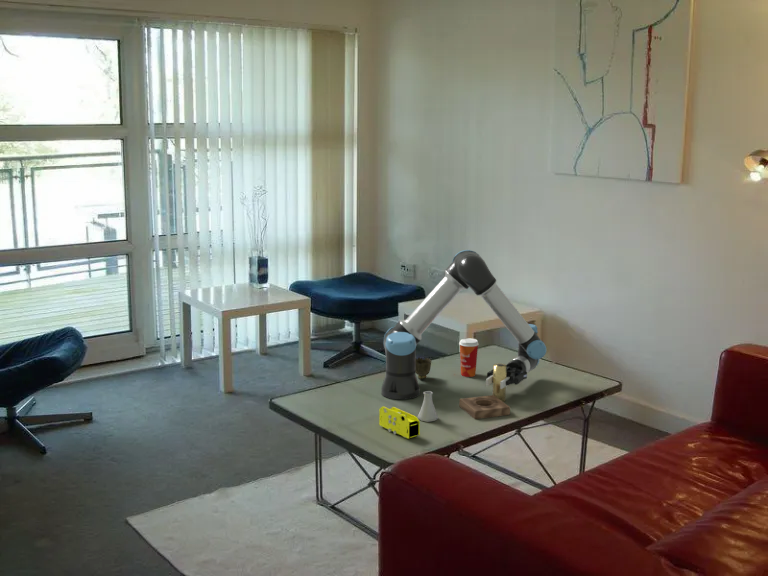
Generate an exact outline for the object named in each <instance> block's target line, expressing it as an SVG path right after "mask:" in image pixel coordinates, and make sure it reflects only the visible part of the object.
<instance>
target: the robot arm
mask: <svg viewBox="0 0 768 576" xmlns="http://www.w3.org/2000/svg"><path fill="white" fill-rule="evenodd" d="M444 273H445V275H444V277H443V278H442V279H441V280H440V281H439V282H438V283H437V284H436V286H435V287H434V288H433V289H432V290H431V291H430V292H429V293H428V294H427V296H426V297H425V298H424V299H423V300H422V301H421V302H420V303H419V304H418V305H417V307H416V308H415V309H413V311H412V312H411V313H410V314H409V315H408V316H407V318H406V319H399V321H398V322H397V323H396V324H395V326H392V327H390V328H388V330H387V331H386V332H385V333H384V335H383V336H384V337H383V349H384V351H385V376H384V379H383V383H382V384H381V385H382V386H381V392H380V394H381V395H382V396H383V397H384V398H387V399H392V400H409V399H413V398H414V399H415V398H417V397H418V396H419V395H421V394H420V393H421V391H420V390H421V389H420V388H421V387H420V385H419V380H418V379H417V378H418V377H417V374H416V372H415V369H416V358H417V356H416V354H417V353H416V351H417V350H416V349H417V348H416V347H417V345H418V344H419V343H420V342H421V340H422V334H423V333H424V332H425V330H427V328H428V327H429V326H430V325H431V324H432V323H433V322H434V321H435V319H437V317H439V315H440V314H441V313H442V312H443V311H444V310H445V308H447V306H448V305H449V304H450V303H451V302H452V301H453V300H454V299H455V298H456V296H457V295H458V294H459V293H460V292H461V291H464V290H465V291H467V290H468V289H469V288H470V289H471V290H472V291H473V293H474V294H475V295H476V296H477V297H481V298H482V299H483V301H484V302H485V303H486V304H487V306H488V307H489V309H491V310H492V312H493V313H494V314H495V315H496V317H498V319H499V320H500V321H501V323H502V324H503V325H504V327H505V328H506V329H507V330H508V331H509V333H510V334H511V335H512V336H513V337H514V339H515V340H516V341H517V348H518V349H517V357H515V358H513V359H512V360H511V361H509V362H508V363H506V365H507V370H506V378H505V379H504V380H502V381H501V382H500V389H503V388H504V387H506V388H507V386H510V385H513V384H514V385H515V386H516V385H518V384H520V383H521V382H522V381H524V380H526V379H527V378H528V373H530V372H531V371H533V370H535V369H536V367H538V365H539V363H540V360H541V359H542V358H544V357H545V355H546V353H547V346H546V344H545V342H544V341H543V340H542V339H541V338H540V337H539V336H538V326H537V325H535V324H532V323H528V322H527V321H526V319H525V318H524V316H523V315H521V313H520V312H519V310H518V309H517V308H516V307H515V305H514V304H513V303H512V302H511V300H510V299H509V298H508V297H507V296H506V294H505V293H504V292H503V290H501V288H500V287H499V285H498V284H497V279H496V277H495V276H494V275H493V273H492V272H491V270H490V269H489V266H488V264H486V262H485V260H484V259H483V258H482V257H481V256H480V254H479V253H477V252H476V251H474V250H471V249H463V250H460V251H459V252H457V253H455V255H454V257H453V259H452V260H451V263H450V264H449V266H448V267H446V269H445V270H444ZM491 384H492V385H493V369H491V370H490V371H488V372H487V373H486V379H485V387H488V386H490V385H491Z"/></svg>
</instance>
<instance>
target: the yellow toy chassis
mask: <svg viewBox="0 0 768 576" xmlns="http://www.w3.org/2000/svg"><path fill="white" fill-rule="evenodd" d="M378 410H379V411H378V412H379V413H378V414H379V415H378V417H379V420H378V422H379V424H378V425H379V426H380V427H383V428H384V429H385V430H388V432H389V433H391V432H392V433H393V435H396V434H397V435H400V436H402V437H403V439H412V438H416V437H417V436H420V434H421V433H420V431H421V427H420V426H421V424H420V423H421V422H420V421H421V420H419V419H418V418H417V417H418V416H415V415H414V414H411V413H409V412H407V411H404V410H402V409H400V408H398V407H395V406H392V407H391V408H388V407H386V406H384V405H383V406H381V407H380V408H379V409H378Z"/></svg>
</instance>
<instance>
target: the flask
mask: <svg viewBox="0 0 768 576" xmlns="http://www.w3.org/2000/svg"><path fill="white" fill-rule="evenodd" d="M433 394H434V392H433V391H431V390H426V391H423V396H424V397H423V401H422V404H421V408H420V410H419V413H418V415H417V416H416V417H417V418H418V420H419V421H421V422H425V423H426V422H428V423H429V422H430V423H431V422H435V421H437V420H438V419H439V417H438V413H437V410H436V408H435V405H434V401H433Z"/></svg>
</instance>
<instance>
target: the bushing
mask: <svg viewBox="0 0 768 576" xmlns="http://www.w3.org/2000/svg"><path fill="white" fill-rule="evenodd" d="M492 367H493V369H492V370H493V383H492V395H494V396H495V397H497V398H498V399H500V400H501V401H502V402H504V403H505V402H506V395H507V394H506V391H507V386H506V387H504V388H503V389H500V382H501V381H502V380H504V379H505V378H507V377H506V370H507V363H500V362H499V363H498V362H497V363H494V364H493V365H492Z"/></svg>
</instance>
